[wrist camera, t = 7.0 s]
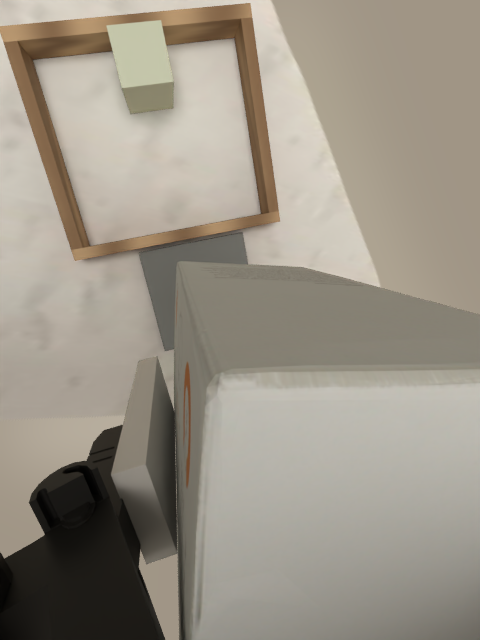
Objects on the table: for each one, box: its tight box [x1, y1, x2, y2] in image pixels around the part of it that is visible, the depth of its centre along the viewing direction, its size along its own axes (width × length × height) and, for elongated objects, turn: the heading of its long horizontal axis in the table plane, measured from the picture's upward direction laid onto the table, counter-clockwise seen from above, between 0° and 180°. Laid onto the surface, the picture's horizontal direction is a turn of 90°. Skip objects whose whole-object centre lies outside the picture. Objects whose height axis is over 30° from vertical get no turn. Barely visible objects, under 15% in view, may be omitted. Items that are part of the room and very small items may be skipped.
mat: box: [139, 233, 248, 351], centre depth 36 cm, size 11×11×1 cm
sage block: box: [106, 20, 174, 114], centre depth 28 cm, size 4×4×6 cm
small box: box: [174, 261, 480, 640], centre depth 11 cm, size 8×6×13 cm
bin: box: [0, 3, 280, 261], centre depth 31 cm, size 20×18×3 cm
